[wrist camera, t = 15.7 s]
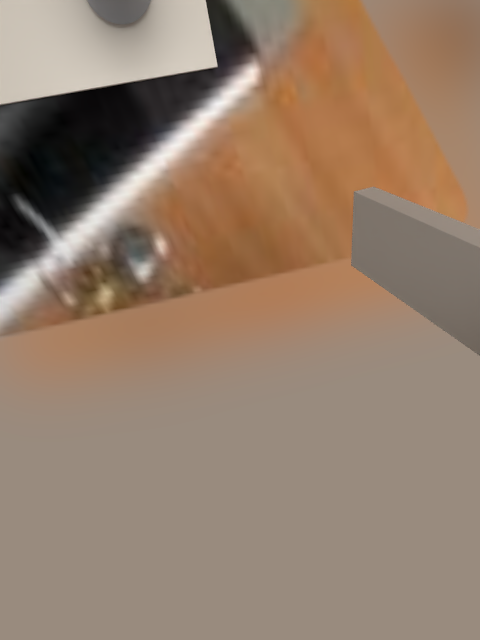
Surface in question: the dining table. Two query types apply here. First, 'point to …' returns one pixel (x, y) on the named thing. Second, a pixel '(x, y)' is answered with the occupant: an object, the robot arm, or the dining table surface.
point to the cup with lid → (120, 9)
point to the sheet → (96, 46)
